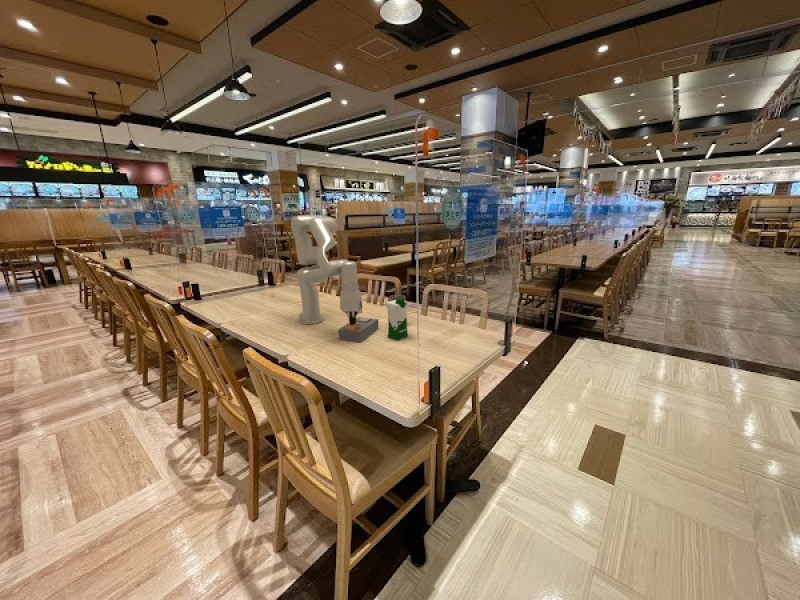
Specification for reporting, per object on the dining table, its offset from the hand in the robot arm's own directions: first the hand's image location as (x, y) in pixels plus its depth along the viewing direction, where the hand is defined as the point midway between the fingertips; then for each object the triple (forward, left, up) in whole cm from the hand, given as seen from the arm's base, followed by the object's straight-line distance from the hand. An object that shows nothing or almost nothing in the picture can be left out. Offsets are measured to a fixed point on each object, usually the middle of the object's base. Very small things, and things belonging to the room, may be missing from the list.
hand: (352, 323), depth 156 cm
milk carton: (+20, +9, -8) cm, 23 cm away
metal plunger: (0, +12, -6) cm, 14 cm away
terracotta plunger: (0, 0, -5) cm, 5 cm away
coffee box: (+13, +26, -8) cm, 30 cm away
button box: (0, +6, -8) cm, 10 cm away
